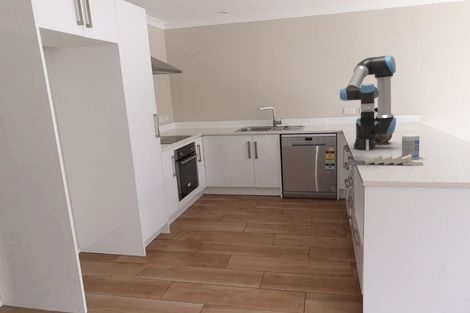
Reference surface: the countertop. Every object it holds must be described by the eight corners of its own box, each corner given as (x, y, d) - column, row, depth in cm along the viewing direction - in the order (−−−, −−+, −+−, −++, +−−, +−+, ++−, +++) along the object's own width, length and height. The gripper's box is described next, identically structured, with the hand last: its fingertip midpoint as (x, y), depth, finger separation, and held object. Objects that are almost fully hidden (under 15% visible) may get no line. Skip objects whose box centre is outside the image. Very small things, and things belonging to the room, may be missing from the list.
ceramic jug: (366, 143, 275) (366, 105, 269) (382, 141, 279) (383, 103, 273) (381, 146, 259) (381, 106, 253) (398, 144, 263) (399, 104, 257)
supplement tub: (418, 160, 207) (419, 136, 204) (401, 160, 211) (401, 136, 208) (419, 157, 215) (419, 134, 212) (402, 157, 219) (402, 134, 217)
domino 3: (383, 160, 206) (400, 154, 201) (384, 163, 206) (402, 157, 201) (383, 162, 201) (401, 156, 197) (384, 164, 201) (402, 158, 197)
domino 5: (402, 160, 202) (422, 160, 198) (402, 163, 202) (421, 163, 198) (403, 162, 197) (422, 162, 193) (402, 165, 197) (422, 165, 193)
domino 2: (374, 160, 208) (391, 154, 203) (375, 162, 208) (392, 157, 203) (374, 161, 203) (391, 156, 199) (375, 164, 203) (392, 158, 199)
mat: (351, 160, 219) (351, 160, 219) (411, 161, 206) (411, 161, 206) (349, 165, 207) (349, 164, 207) (412, 166, 194) (412, 165, 194)
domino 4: (393, 160, 203) (410, 154, 199) (394, 163, 204) (412, 157, 199) (393, 162, 199) (411, 156, 195) (394, 164, 199) (412, 158, 195)
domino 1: (365, 160, 209) (382, 154, 205) (366, 162, 210) (383, 157, 205) (364, 161, 205) (382, 156, 201) (366, 164, 205) (383, 158, 201)
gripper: (355, 111, 200) (355, 151, 205) (379, 110, 195) (379, 152, 200) (356, 110, 207) (356, 149, 211) (379, 109, 202) (379, 149, 206)
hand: (367, 150), depth 206 cm, fingers closed
